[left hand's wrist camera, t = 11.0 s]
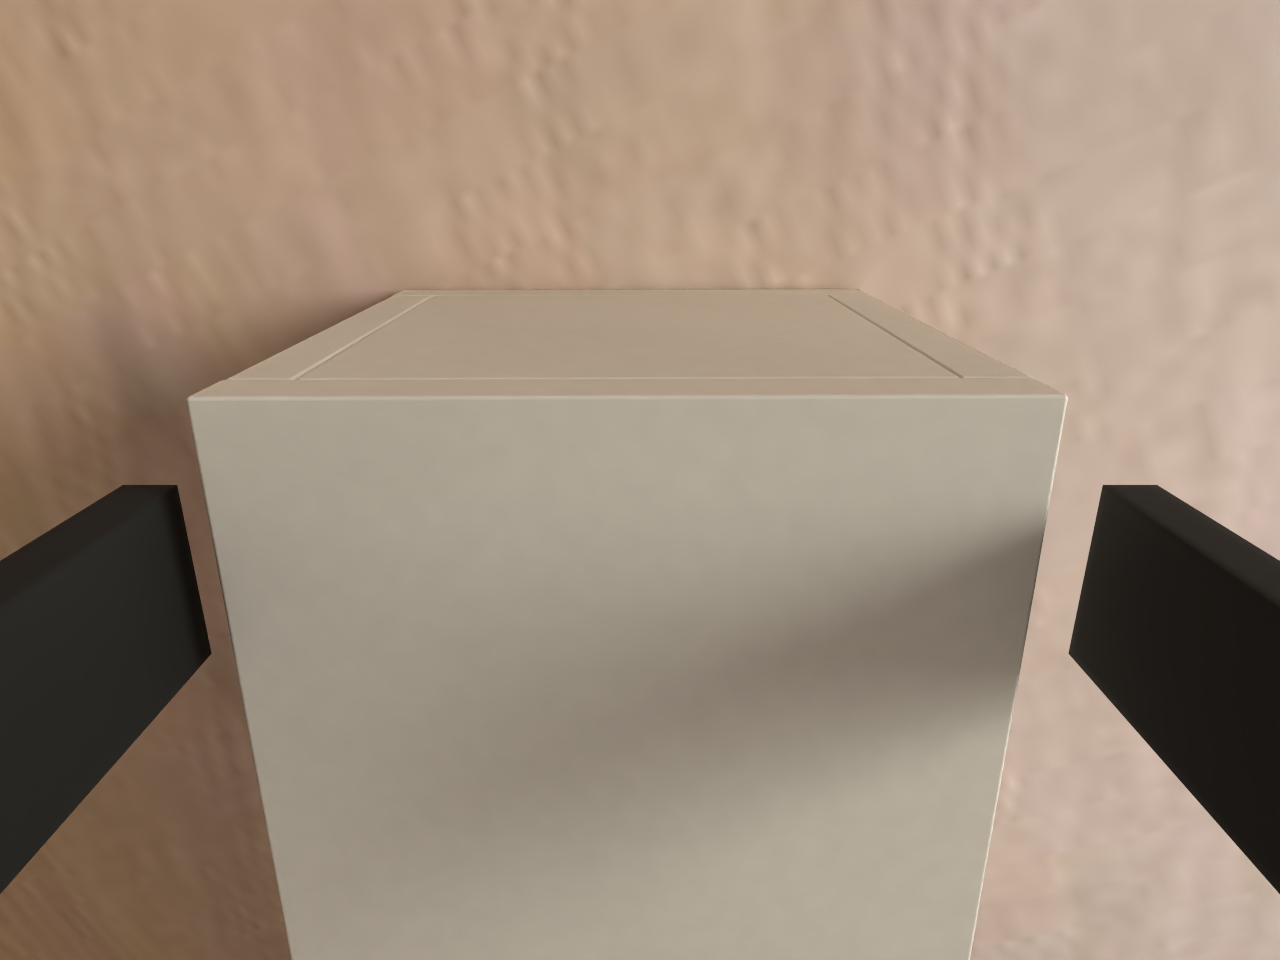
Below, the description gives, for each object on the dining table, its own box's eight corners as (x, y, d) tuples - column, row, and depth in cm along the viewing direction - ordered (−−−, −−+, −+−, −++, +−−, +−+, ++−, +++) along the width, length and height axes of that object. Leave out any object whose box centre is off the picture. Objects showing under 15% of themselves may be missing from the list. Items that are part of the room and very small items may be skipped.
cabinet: (809, 881, 27) (911, 1295, 17) (458, 884, 27) (353, 1300, 17) (860, 288, 21) (1070, 394, 11) (401, 290, 21) (183, 396, 11)
